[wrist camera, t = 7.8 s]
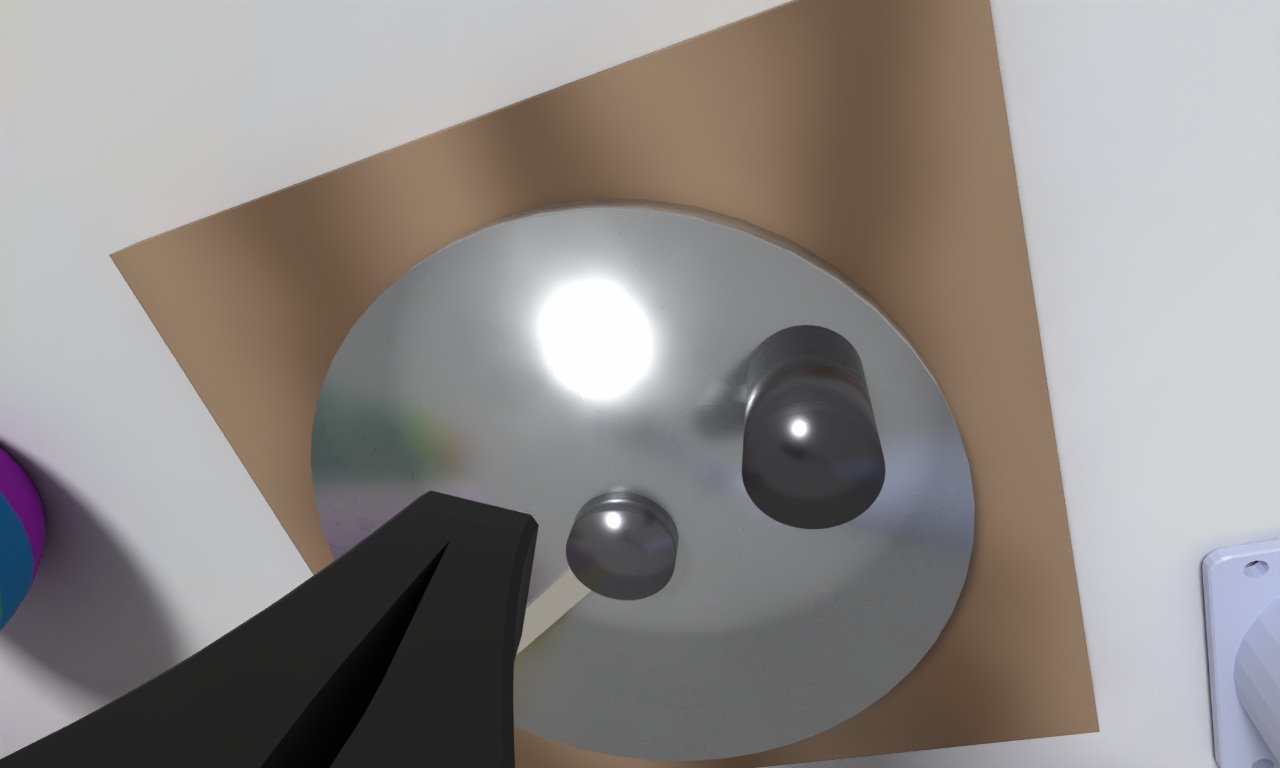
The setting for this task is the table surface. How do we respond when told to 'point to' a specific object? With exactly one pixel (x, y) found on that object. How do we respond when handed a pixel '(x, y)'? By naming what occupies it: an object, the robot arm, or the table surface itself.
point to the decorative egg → (18, 535)
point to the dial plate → (735, 186)
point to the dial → (665, 468)
